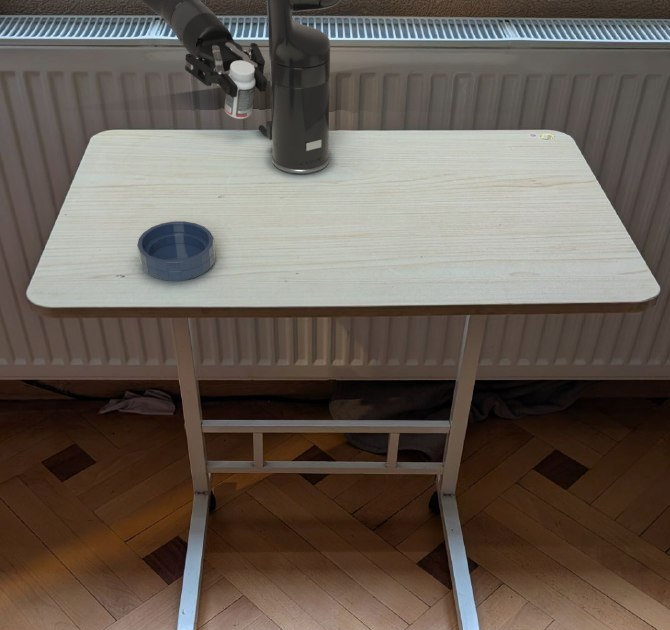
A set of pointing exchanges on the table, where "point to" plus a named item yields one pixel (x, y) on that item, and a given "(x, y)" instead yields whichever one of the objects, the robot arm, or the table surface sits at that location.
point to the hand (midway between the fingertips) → (249, 89)
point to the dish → (176, 250)
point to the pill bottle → (241, 90)
